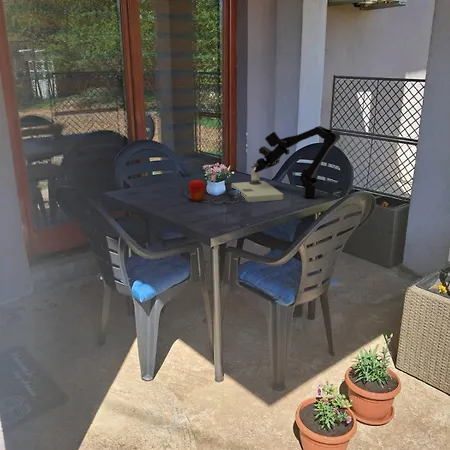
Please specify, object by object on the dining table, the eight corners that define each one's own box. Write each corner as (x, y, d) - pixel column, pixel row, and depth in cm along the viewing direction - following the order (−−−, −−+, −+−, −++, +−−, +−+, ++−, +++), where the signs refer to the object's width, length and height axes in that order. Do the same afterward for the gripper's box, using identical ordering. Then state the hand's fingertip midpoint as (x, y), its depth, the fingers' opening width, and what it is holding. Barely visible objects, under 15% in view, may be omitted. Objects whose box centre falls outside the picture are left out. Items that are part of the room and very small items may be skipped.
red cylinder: (208, 199, 264) (208, 178, 260) (197, 203, 258) (196, 181, 254) (197, 196, 270) (197, 175, 266) (185, 199, 264) (185, 178, 260)
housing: (283, 199, 266) (283, 193, 265) (248, 202, 260) (248, 196, 259) (263, 186, 293) (263, 180, 292) (231, 188, 288) (231, 182, 287)
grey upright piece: (258, 184, 284) (259, 163, 280) (250, 183, 285) (250, 163, 281) (259, 182, 289) (260, 161, 285) (251, 181, 290) (252, 161, 286)
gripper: (275, 140, 283) (257, 157, 292) (260, 144, 268) (242, 162, 277) (287, 155, 281) (269, 171, 290) (272, 160, 266) (254, 177, 275)
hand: (258, 170), depth 283 cm, fingers open, 9 cm apart
